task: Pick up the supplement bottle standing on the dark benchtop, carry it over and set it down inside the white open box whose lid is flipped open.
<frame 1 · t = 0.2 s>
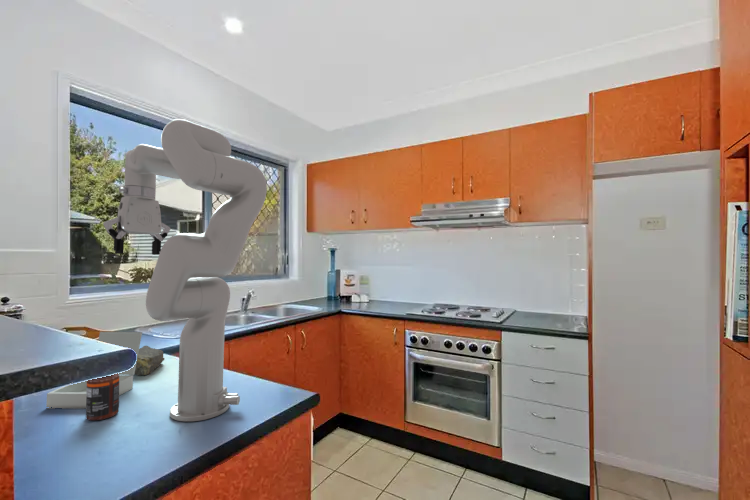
hand: (138, 254, 103), 37 cm above the countertop, tool pointing down, fingers open, 9 cm apart
rock: (147, 370, 115), on the countertop
white open box: (92, 397, 91), on the countertop
supplement bottle: (102, 416, 81), on the countertop
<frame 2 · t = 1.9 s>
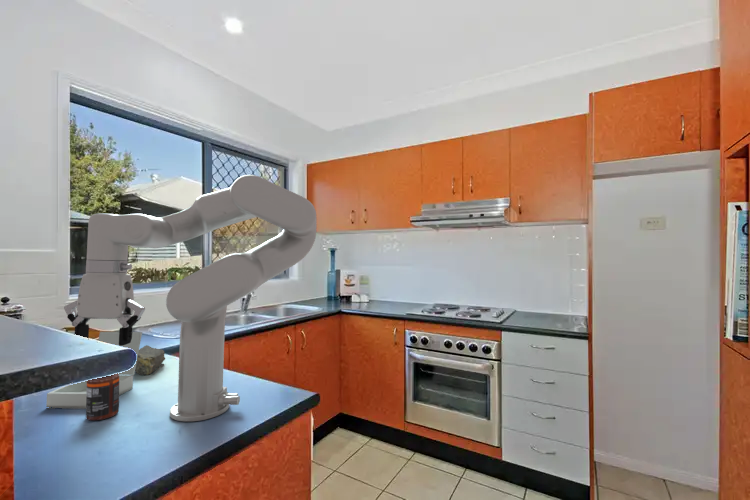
hand: (103, 343, 81), 16 cm above the countertop, tool pointing down, fingers open, 9 cm apart
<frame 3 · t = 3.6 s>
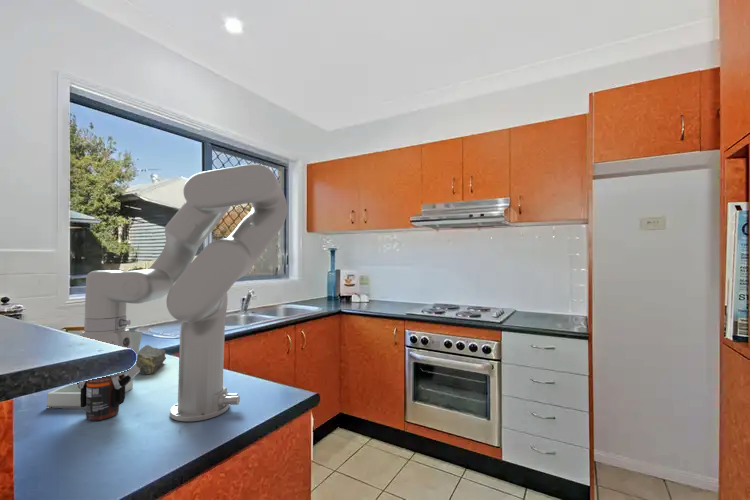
hand: (102, 404, 81), 3 cm above the countertop, tool pointing down, fingers closed on supplement bottle, 6 cm apart
supplement bottle: (102, 416, 81), on the countertop, touching gripper
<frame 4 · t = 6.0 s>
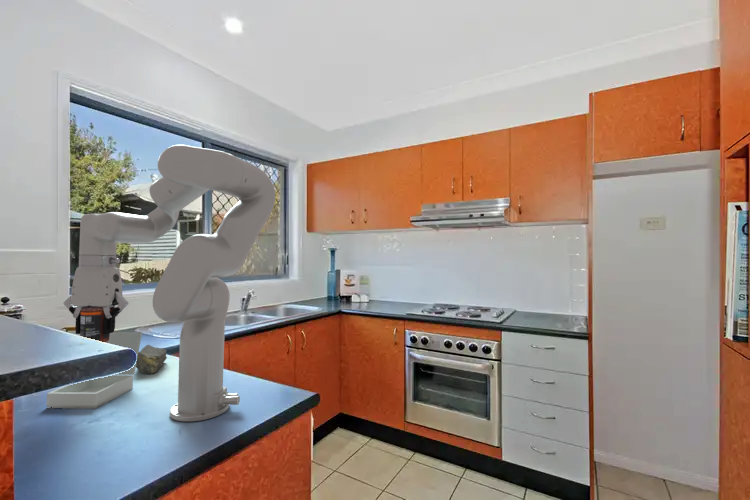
hand: (95, 332, 91), 17 cm above the countertop, tool pointing down, fingers closed on supplement bottle, 6 cm apart
supplement bottle: (94, 343, 91), point 14 cm above the countertop, touching gripper
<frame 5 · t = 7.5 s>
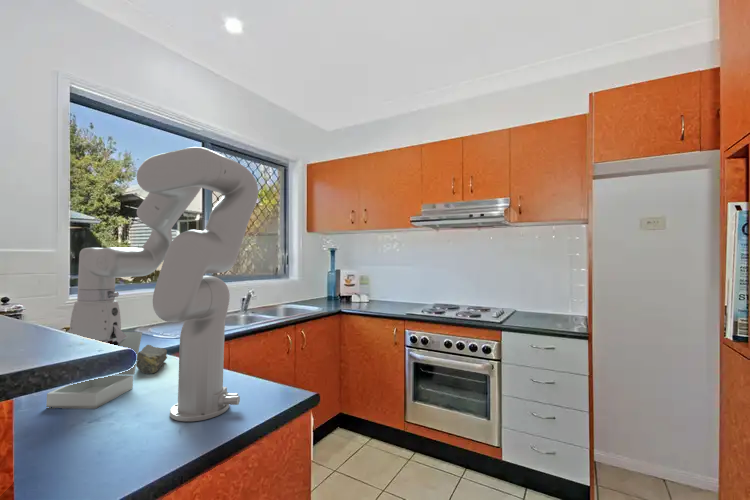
hand: (93, 366, 91), 8 cm above the countertop, tool pointing down, fingers closed on supplement bottle, 6 cm apart
supplement bottle: (92, 377, 91), point 5 cm above the countertop, touching gripper
when the fingers open (5 cm above the countertop, at t = 8.6 s): supplement bottle drops 2 cm, resting on white open box.
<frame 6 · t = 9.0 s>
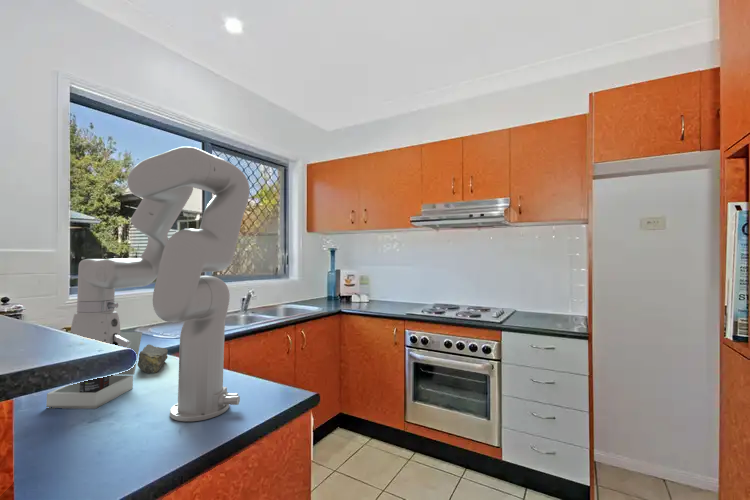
hand: (93, 374, 91), 6 cm above the countertop, tool pointing down, fingers open, 9 cm apart
supplement bottle: (94, 395, 91), resting on white open box
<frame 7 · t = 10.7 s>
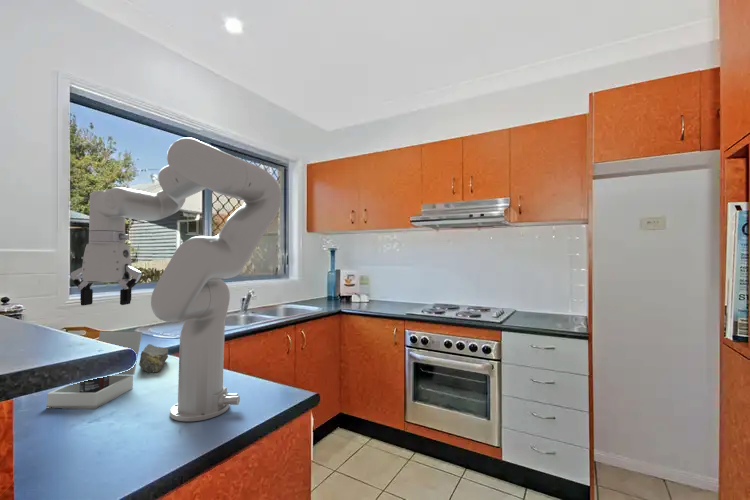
hand: (106, 304, 93), 23 cm above the countertop, tool pointing down, fingers open, 9 cm apart
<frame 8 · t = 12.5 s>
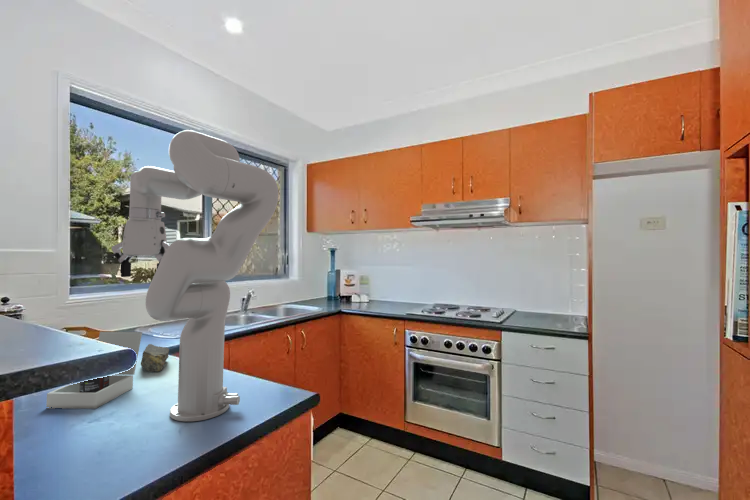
hand: (143, 277, 101), 30 cm above the countertop, tool pointing down, fingers open, 9 cm apart
at the end: supplement bottle inside the target area on the white open box (0.4 cm from its centre), point 0.4 cm above the white open box's base; supplement bottle tilted 0°; the gripper is holding nothing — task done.
